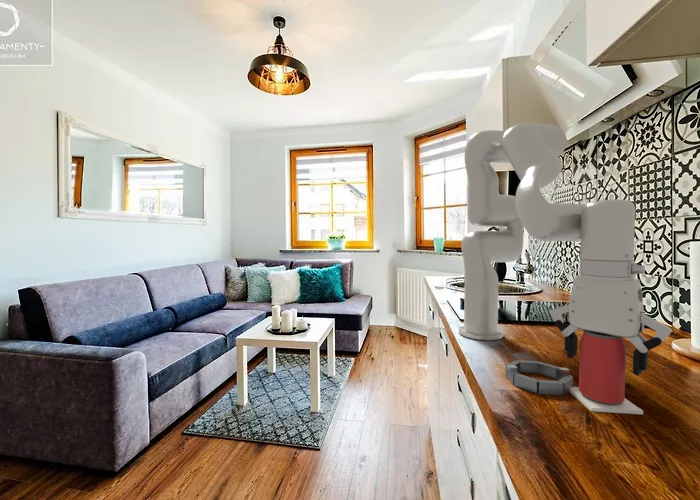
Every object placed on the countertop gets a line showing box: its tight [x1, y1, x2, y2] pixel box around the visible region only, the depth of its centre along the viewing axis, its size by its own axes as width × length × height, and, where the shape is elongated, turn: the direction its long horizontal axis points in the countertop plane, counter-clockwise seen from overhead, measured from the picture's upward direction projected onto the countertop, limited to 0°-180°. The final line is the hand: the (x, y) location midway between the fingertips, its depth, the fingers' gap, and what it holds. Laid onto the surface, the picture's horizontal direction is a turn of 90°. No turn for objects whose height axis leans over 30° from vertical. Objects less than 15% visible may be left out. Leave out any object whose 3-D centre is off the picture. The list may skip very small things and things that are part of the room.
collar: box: [505, 359, 574, 396], centre depth 67 cm, size 11×12×3 cm
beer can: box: [578, 330, 627, 405], centre depth 59 cm, size 7×7×12 cm
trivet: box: [568, 386, 644, 415], centre depth 59 cm, size 8×8×1 cm
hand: (602, 364), depth 58 cm, fingers open, 9 cm apart
